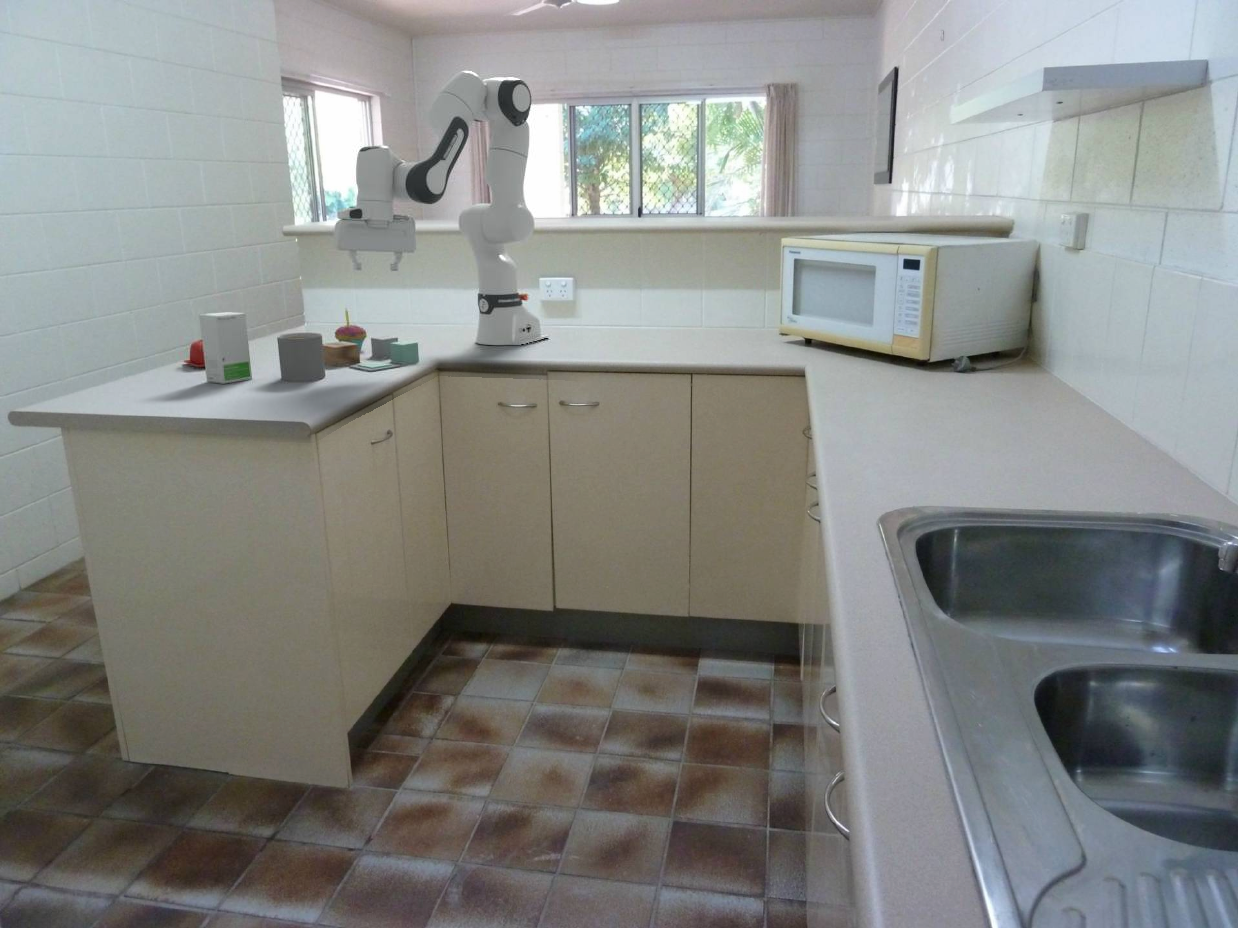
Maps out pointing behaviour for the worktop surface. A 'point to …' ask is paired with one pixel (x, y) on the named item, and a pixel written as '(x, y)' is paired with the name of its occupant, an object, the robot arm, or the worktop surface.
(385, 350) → the grey block
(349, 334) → the cupcake
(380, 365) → the tile
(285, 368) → the coffee mug
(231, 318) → the skincare box
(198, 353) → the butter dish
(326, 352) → the walnut block
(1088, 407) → the worktop surface
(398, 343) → the teal block
